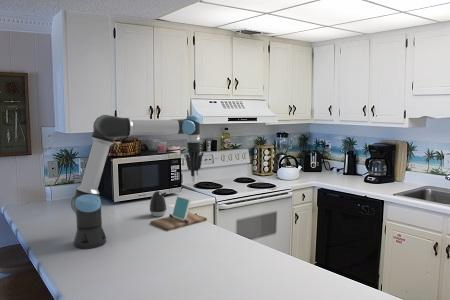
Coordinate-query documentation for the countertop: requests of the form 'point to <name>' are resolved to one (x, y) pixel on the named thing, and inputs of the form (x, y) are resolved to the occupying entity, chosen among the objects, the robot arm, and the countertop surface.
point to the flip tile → (181, 208)
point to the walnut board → (177, 221)
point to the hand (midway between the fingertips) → (194, 181)
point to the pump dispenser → (158, 204)
